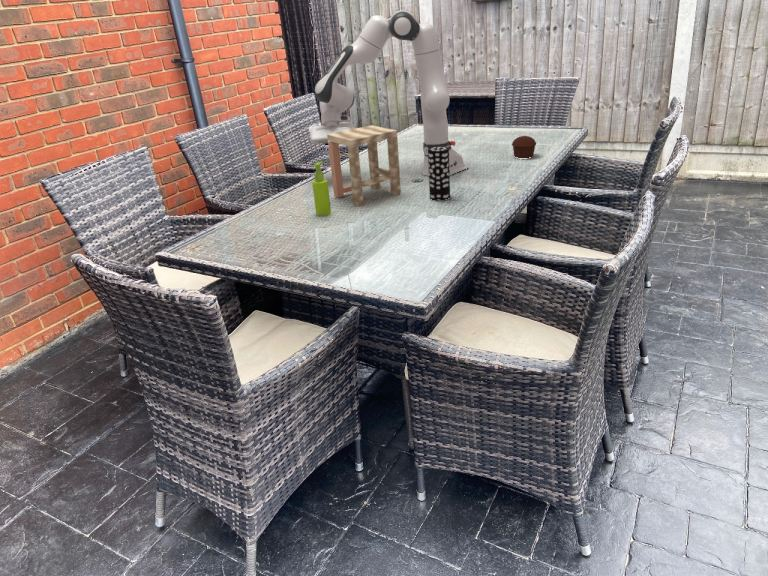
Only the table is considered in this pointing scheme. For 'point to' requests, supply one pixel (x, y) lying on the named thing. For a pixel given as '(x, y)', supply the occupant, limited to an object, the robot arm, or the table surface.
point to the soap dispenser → (321, 192)
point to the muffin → (524, 147)
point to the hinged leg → (337, 171)
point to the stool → (370, 158)
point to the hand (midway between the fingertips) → (334, 149)
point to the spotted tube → (439, 173)
